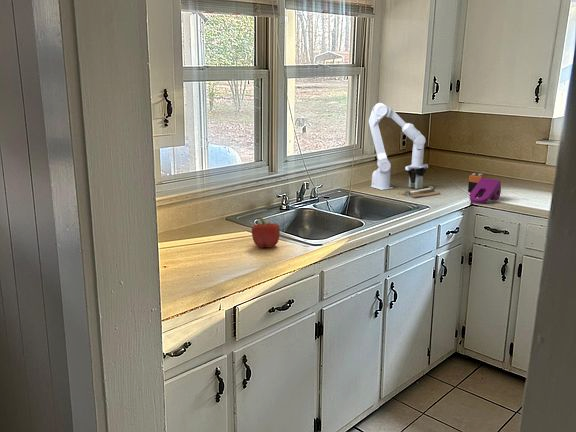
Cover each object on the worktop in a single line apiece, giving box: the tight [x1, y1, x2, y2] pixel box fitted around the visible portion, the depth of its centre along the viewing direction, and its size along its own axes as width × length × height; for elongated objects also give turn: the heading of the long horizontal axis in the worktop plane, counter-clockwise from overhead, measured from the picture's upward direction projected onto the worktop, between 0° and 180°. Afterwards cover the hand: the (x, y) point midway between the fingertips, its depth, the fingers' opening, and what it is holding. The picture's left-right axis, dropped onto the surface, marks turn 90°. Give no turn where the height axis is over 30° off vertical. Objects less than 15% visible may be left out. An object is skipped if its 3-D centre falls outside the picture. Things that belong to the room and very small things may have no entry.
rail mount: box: [398, 186, 441, 199], centre depth 296 cm, size 11×18×3 cm, turn 123°
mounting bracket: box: [468, 177, 502, 205], centre depth 286 cm, size 9×8×18 cm
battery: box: [467, 172, 486, 194], centre depth 300 cm, size 4×7×10 cm, turn 49°
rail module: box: [408, 174, 424, 190], centre depth 307 cm, size 6×4×6 cm, turn 33°
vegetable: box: [251, 216, 280, 249], centre depth 212 cm, size 11×10×10 cm
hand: (415, 182), depth 308 cm, fingers closed on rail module, 4 cm apart
